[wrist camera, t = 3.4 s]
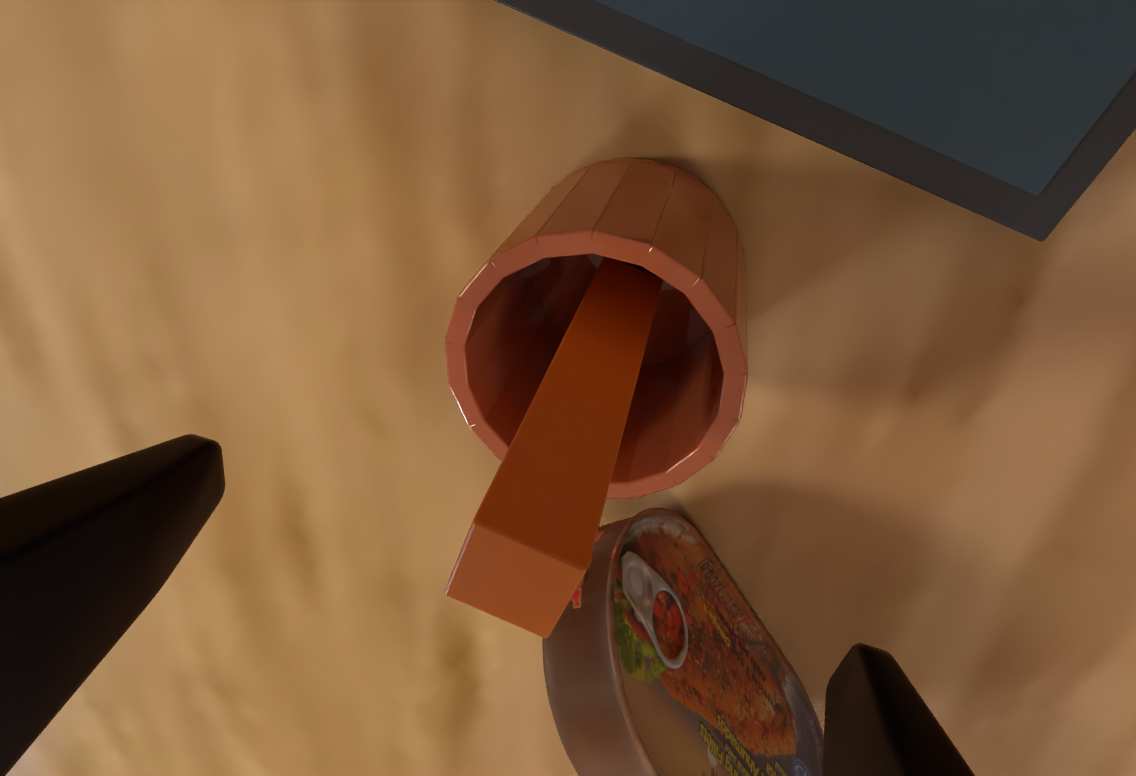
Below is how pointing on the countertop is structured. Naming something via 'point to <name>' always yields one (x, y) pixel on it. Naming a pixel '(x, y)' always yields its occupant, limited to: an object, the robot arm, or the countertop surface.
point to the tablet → (906, 83)
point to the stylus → (560, 460)
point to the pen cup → (555, 291)
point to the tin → (672, 666)
